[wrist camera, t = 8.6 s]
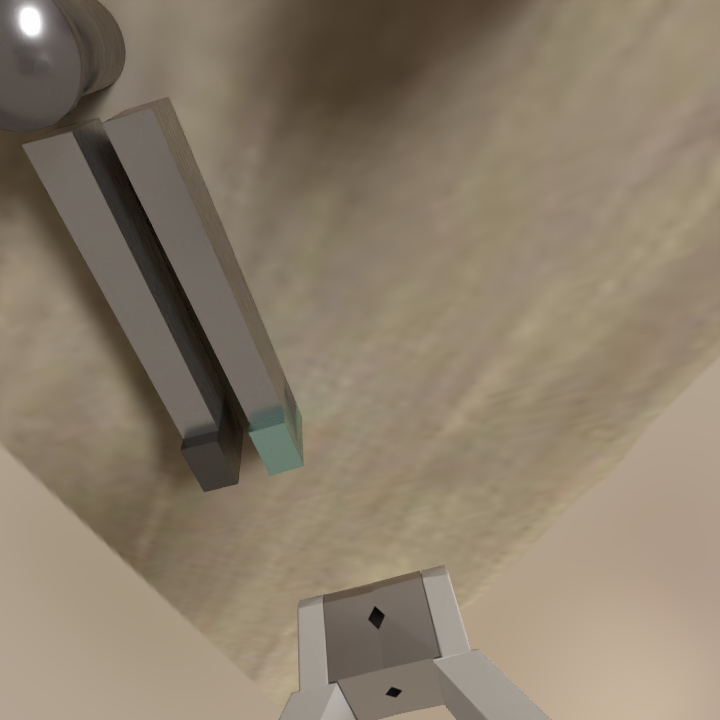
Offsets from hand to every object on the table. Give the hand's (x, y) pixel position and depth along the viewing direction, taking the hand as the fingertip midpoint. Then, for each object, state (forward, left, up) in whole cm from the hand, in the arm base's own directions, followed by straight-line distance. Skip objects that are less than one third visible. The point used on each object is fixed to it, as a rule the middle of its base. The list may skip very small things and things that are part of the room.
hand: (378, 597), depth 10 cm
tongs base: (-2, -7, -18) cm, 19 cm away
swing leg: (0, -5, -18) cm, 18 cm away
